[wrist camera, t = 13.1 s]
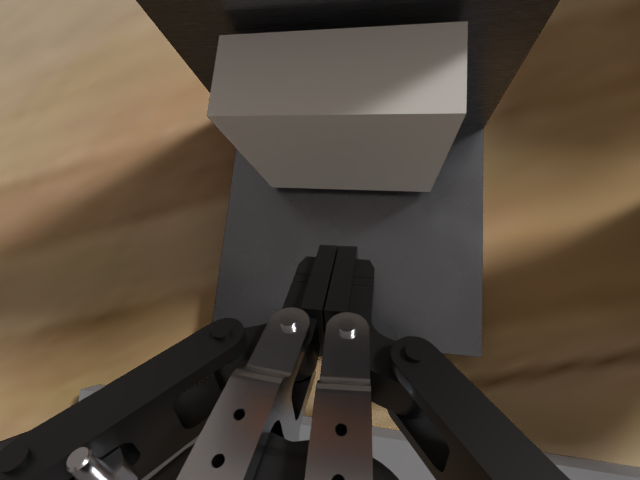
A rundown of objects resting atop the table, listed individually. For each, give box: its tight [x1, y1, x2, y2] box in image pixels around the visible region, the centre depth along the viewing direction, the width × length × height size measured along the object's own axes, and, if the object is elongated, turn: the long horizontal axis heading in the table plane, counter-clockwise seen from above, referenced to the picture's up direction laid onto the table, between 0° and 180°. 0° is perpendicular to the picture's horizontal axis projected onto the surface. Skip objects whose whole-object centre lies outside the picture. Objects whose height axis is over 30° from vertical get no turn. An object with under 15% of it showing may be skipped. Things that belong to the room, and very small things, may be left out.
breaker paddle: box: [207, 21, 468, 192], centre depth 14 cm, size 3×8×7 cm, turn 84°
